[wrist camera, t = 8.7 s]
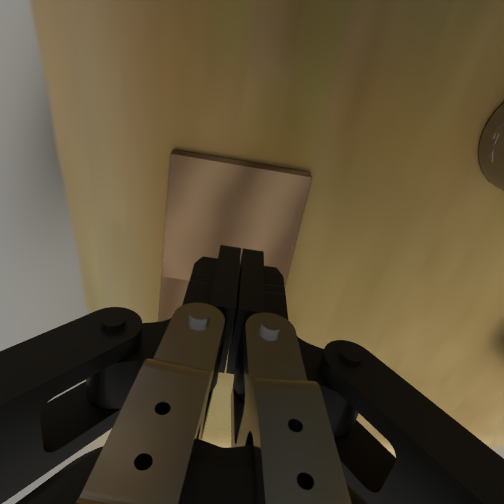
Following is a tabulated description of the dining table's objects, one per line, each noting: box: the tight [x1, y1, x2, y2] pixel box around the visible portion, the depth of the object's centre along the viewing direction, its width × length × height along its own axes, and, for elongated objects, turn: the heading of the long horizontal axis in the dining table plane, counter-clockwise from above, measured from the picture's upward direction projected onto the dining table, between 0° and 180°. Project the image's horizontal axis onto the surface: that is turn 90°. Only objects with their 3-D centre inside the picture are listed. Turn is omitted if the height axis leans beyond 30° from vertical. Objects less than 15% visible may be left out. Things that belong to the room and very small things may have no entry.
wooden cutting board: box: [158, 150, 312, 322], centre depth 38 cm, size 12×20×2 cm, turn 170°
